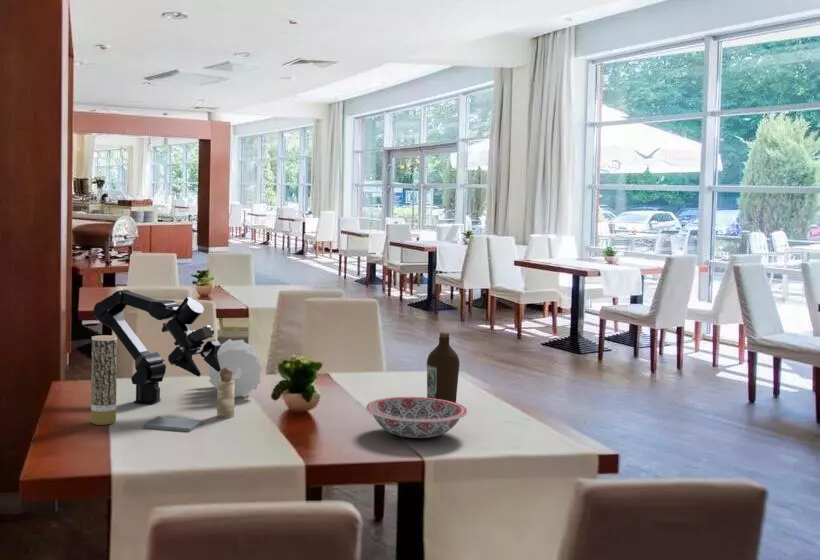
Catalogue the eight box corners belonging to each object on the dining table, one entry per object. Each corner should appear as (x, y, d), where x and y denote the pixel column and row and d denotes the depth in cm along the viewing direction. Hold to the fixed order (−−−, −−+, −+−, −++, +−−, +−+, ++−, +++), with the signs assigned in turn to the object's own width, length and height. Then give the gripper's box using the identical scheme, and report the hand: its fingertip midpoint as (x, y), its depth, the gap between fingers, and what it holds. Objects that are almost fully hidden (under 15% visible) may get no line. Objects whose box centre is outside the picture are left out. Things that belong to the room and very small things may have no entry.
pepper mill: (214, 417, 268) (215, 368, 267) (220, 413, 273) (221, 365, 272) (230, 418, 267) (231, 369, 266) (236, 415, 272) (237, 366, 271)
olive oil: (448, 404, 298) (452, 330, 296) (463, 411, 288) (466, 335, 286) (419, 405, 294) (422, 330, 291) (433, 413, 284) (436, 335, 282)
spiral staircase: (245, 396, 316) (248, 409, 291) (199, 375, 312) (198, 386, 287) (268, 350, 317) (273, 359, 292) (223, 328, 313) (224, 335, 289)
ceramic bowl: (392, 453, 237) (393, 424, 237) (349, 427, 263) (349, 400, 262) (485, 443, 251) (486, 415, 250) (435, 419, 277) (436, 393, 276)
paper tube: (121, 422, 259) (122, 336, 256) (104, 427, 252) (104, 339, 250) (103, 418, 261) (104, 334, 259) (85, 423, 255) (86, 337, 253)
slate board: (142, 428, 253) (142, 424, 253) (158, 419, 263) (158, 416, 263) (189, 431, 251) (189, 428, 251) (203, 423, 261) (203, 420, 260)
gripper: (175, 320, 265) (204, 361, 260) (216, 314, 281) (244, 352, 277) (155, 344, 269) (183, 384, 265) (197, 336, 285) (223, 374, 281)
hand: (209, 373), depth 272 cm, fingers open, 9 cm apart
